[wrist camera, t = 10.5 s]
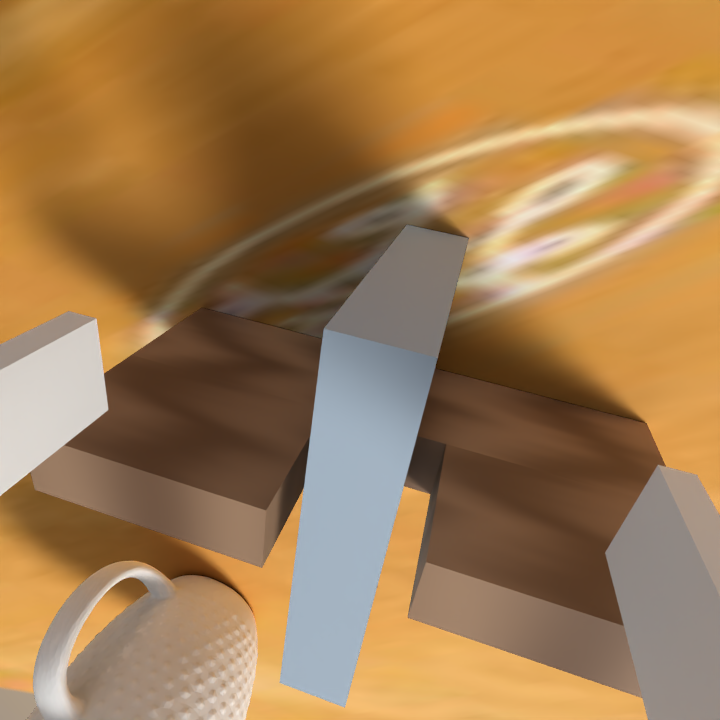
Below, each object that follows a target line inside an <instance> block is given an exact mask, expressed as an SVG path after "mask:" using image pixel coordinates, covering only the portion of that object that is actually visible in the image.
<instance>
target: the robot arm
mask: <svg viewBox="0 0 720 720" xmlns="http://www.w3.org/2000/svg"><path fill="white" fill-rule="evenodd" d="M106 411H108V403H107V395H106V387H105V380H104V372H103V365H102V357H101V349H100V342H99V334H98V326H97V319H96V318H93V317H89V316H85V315H81V314H77V313H73V312H70V311H68V312H66V313H64V314H62V315H60V316H58V317H56V318H54V319H52V320H50V321H48V322H46V323H44V324H41V325H39V326H37V327H35V328H33V329H31V330H29V331H27V332H25V333H23V334H21V335H19V336H17V337H15V338H13V339H11V340H8V341H6V342H4V343H2V344H0V496H1V495H2V494H3V493H4V492H6V491H7V490H8V489H9V488H11V487H12V486H13V485H14V484H16V483H17V482H18V481H19V480H21V479H22V478H23V477H24V476H26V475H27V474H28V473H30V472H31V471H32V470H33V469H35V468H36V467H37V466H38V465H40V464H41V463H42V462H43V461H45V460H46V459H47V458H48V457H50V456H51V455H52V454H53V453H55V452H56V451H57V450H59V449H60V448H61V447H62V446H64V445H65V444H66V443H67V442H69V441H70V440H71V439H72V438H74V437H75V436H76V435H77V434H79V433H80V432H81V431H82V430H84V429H85V428H86V427H88V426H89V425H90V424H91V423H93V422H94V421H95V420H96V419H98V418H99V417H100V416H101V415H103V414H104V413H105V412H106ZM605 554H606V558H607V562H608V566H609V570H610V574H611V577H612V581H613V585H614V589H615V593H616V597H617V601H618V605H619V609H620V612H621V616H622V620H623V624H624V628H625V632H626V636H627V640H628V644H629V647H630V651H631V655H632V659H633V663H634V667H635V671H636V675H637V678H638V682H639V686H640V690H641V694H642V698H643V702H644V706H645V710H646V713H647V717H648V720H720V515H719V513H718V512H717V510H716V508H715V506H714V505H713V503H712V501H711V499H710V497H709V496H708V494H707V492H706V490H705V488H704V487H703V485H702V483H701V481H700V480H699V478H698V476H697V475H695V474H692V473H688V472H684V471H680V470H676V469H672V468H669V467H665V466H661V465H658V466H657V467H656V469H655V471H654V472H653V474H652V476H651V477H650V479H649V481H648V482H647V484H646V486H645V487H644V489H643V491H642V492H641V494H640V496H639V497H638V499H637V501H636V502H635V504H634V506H633V507H632V509H631V510H630V512H629V514H628V515H627V517H626V519H625V520H624V522H623V524H622V525H621V527H620V529H619V530H618V532H617V534H616V535H615V537H614V539H613V540H612V542H611V544H610V545H609V547H608V549H607V550H606V552H605Z"/></svg>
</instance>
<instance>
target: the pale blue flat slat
mask: <svg viewBox="0 0 720 720" xmlns="http://www.w3.org/2000/svg"><path fill="white" fill-rule="evenodd" d="M468 239H469V238H466V237H462V236H457V235H453V234H448V233H443V232H439V231H434V230H430V229H425V228H420V227H416V226H411V225H406V226H405V227H404V229H403V230H402V231H401V232H400V234H399V235H398V236H397V237H396V239H395V240H394V241H393V242H392V244H391V245H390V246H389V247H388V249H387V250H386V251H385V252H384V254H383V255H382V256H381V257H380V259H379V260H378V261H377V262H376V264H375V265H374V266H373V267H372V269H371V270H370V271H369V272H368V274H367V275H366V276H365V277H364V279H363V280H362V281H361V282H360V284H359V285H358V286H357V287H356V289H355V290H354V291H353V293H352V294H351V295H350V296H349V298H348V299H347V300H346V301H345V303H344V304H343V305H342V306H341V308H340V309H339V310H338V311H337V313H336V314H335V315H334V316H333V318H332V319H331V320H330V321H329V323H328V324H327V325H326V326H325V328H324V330H323V338H322V346H321V354H320V362H319V370H318V378H317V386H316V395H315V403H314V411H313V419H312V427H311V435H310V443H309V451H308V459H307V467H306V475H305V483H304V491H303V499H302V508H301V516H300V524H299V532H298V540H297V548H296V556H295V564H294V572H293V580H292V588H291V596H290V604H289V612H288V620H287V629H286V637H285V645H284V653H283V661H282V669H281V677H280V683H282V684H284V685H287V686H290V687H292V688H295V689H298V690H300V691H303V692H305V693H308V694H311V695H313V696H316V697H319V698H321V699H324V700H327V701H329V702H332V703H334V704H337V705H340V706H342V707H345V705H346V701H347V698H348V694H349V690H350V686H351V683H352V679H353V675H354V671H355V668H356V664H357V660H358V656H359V653H360V649H361V645H362V641H363V637H364V634H365V630H366V626H367V622H368V619H369V615H370V611H371V607H372V604H373V600H374V596H375V592H376V589H377V585H378V581H379V577H380V573H381V570H382V566H383V562H384V558H385V555H386V551H387V547H388V543H389V540H390V536H391V532H392V528H393V525H394V521H395V517H396V513H397V509H398V506H399V502H400V498H401V494H402V491H403V487H404V483H405V479H406V476H407V472H408V468H409V464H410V461H411V457H412V453H413V449H414V446H415V442H416V438H417V434H418V430H419V427H420V423H421V419H422V415H423V412H424V408H425V404H426V400H427V397H428V393H429V389H430V385H431V382H432V378H433V374H434V370H435V366H436V363H437V359H438V355H439V351H440V347H441V344H442V340H443V336H444V332H445V328H446V324H447V320H448V316H449V313H450V309H451V305H452V301H453V297H454V293H455V289H456V286H457V282H458V278H459V274H460V270H461V266H462V262H463V259H464V255H465V251H466V247H467V243H468Z"/></svg>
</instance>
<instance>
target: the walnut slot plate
mask: <svg viewBox="0 0 720 720" xmlns="http://www.w3.org/2000/svg"><path fill="white" fill-rule="evenodd" d="M321 346H322V339H320V338H317V337H313V336H309V335H305V334H301V333H297V332H294V331H290V330H286V329H282V328H278V327H274V326H271V325H267V324H263V323H259V322H255V321H251V320H248V319H244V318H240V317H236V316H232V315H228V314H225V313H221V312H217V311H213V310H209V309H205V308H200V309H199V310H197V311H196V312H195V313H193V314H192V315H190V316H189V317H187V318H186V319H184V320H183V321H181V322H180V323H178V324H177V325H175V326H174V327H172V328H171V329H169V330H168V331H166V332H165V333H163V334H162V335H161V336H159V337H158V338H156V339H155V340H153V341H152V342H150V343H149V344H147V345H146V346H144V347H143V348H141V349H140V350H138V351H137V352H135V353H134V354H132V355H131V356H129V357H128V358H127V359H125V360H124V361H122V362H121V363H119V364H118V365H116V366H115V367H113V368H112V369H110V370H109V371H107V372H106V373H104V380H105V387H106V395H107V403H108V411H106V412H105V413H104V414H103V415H101V416H100V417H99V418H98V419H96V420H95V421H94V422H93V423H91V424H90V425H89V426H88V427H86V428H85V429H84V430H82V431H81V432H80V433H79V434H77V435H76V436H75V437H74V438H72V439H71V440H70V441H69V442H67V443H66V444H65V445H64V446H62V447H61V448H60V449H59V450H57V451H56V452H55V453H53V454H52V455H51V456H50V457H48V458H47V459H46V460H45V461H43V462H42V463H41V464H40V465H38V466H37V467H36V468H35V469H33V470H32V471H31V472H30V473H31V477H32V481H33V484H34V488H35V490H37V491H40V492H43V493H46V494H48V495H51V496H54V497H57V498H60V499H63V500H66V501H69V502H72V503H75V504H78V505H81V506H83V507H86V508H89V509H92V510H95V511H98V512H101V513H104V514H107V515H110V516H113V517H116V518H118V519H121V520H124V521H127V522H130V523H133V524H136V525H139V526H142V527H145V528H148V529H151V530H153V531H156V532H159V533H162V534H165V535H168V536H171V537H174V538H177V539H180V540H183V541H186V542H189V543H191V544H194V545H197V546H200V547H203V548H206V549H209V550H212V551H215V552H218V553H221V554H224V555H226V556H229V557H232V558H235V559H238V560H241V561H244V562H247V563H250V564H253V565H256V566H259V567H261V568H262V567H263V565H264V563H265V561H266V559H267V557H268V555H269V553H270V552H271V550H272V548H273V546H274V544H275V542H276V540H277V538H278V536H279V534H280V532H281V530H282V528H283V527H284V525H285V523H286V521H287V519H288V517H289V515H290V513H291V511H292V509H293V507H294V505H295V503H296V502H297V500H298V498H299V496H300V494H301V492H302V490H303V488H304V483H305V475H306V467H307V459H308V451H309V443H310V435H311V427H312V419H313V411H314V403H315V395H316V386H317V378H318V370H319V362H320V354H321ZM658 465H661V466H665V464H664V461H663V459H662V457H661V455H660V452H659V450H658V448H657V446H656V443H655V441H654V439H653V437H652V434H651V432H650V430H649V428H648V425H647V423H643V422H639V421H635V420H631V419H628V418H624V417H620V416H616V415H612V414H608V413H605V412H601V411H597V410H593V409H589V408H585V407H582V406H578V405H574V404H570V403H566V402H562V401H559V400H555V399H551V398H547V397H543V396H539V395H536V394H532V393H528V392H524V391H520V390H516V389H512V388H509V387H505V386H501V385H497V384H493V383H489V382H486V381H482V380H478V379H474V378H470V377H466V376H463V375H459V374H455V373H451V372H447V371H443V370H440V369H436V368H435V370H434V374H433V378H432V382H431V385H430V389H429V393H428V397H427V400H426V404H425V408H424V412H423V415H422V419H421V423H420V427H419V430H418V434H417V438H416V442H415V446H414V449H413V453H412V457H411V461H410V464H409V468H408V472H407V476H406V479H405V483H404V486H406V487H409V488H412V489H415V490H419V491H422V492H425V493H429V494H431V495H430V500H429V506H428V511H427V516H426V522H425V527H424V532H423V538H422V543H421V549H420V554H419V559H418V565H417V570H416V575H415V581H414V586H413V591H412V597H411V602H410V607H409V613H408V618H410V619H413V620H416V621H419V622H422V623H425V624H428V625H431V626H434V627H437V628H439V629H442V630H445V631H448V632H451V633H454V634H457V635H460V636H463V637H466V638H469V639H472V640H474V641H477V642H480V643H483V644H486V645H489V646H492V647H495V648H498V649H501V650H504V651H507V652H509V653H512V654H515V655H518V656H521V657H524V658H527V659H530V660H533V661H536V662H539V663H542V664H545V665H547V666H550V667H553V668H556V669H559V670H562V671H565V672H568V673H571V674H574V675H577V676H580V677H582V678H585V679H588V680H591V681H594V682H597V683H600V684H603V685H606V686H609V687H612V688H615V689H617V690H620V691H623V692H626V693H629V694H632V695H635V696H638V697H641V698H642V694H641V690H640V686H639V682H638V678H637V675H636V671H635V667H634V663H633V659H632V655H631V651H630V647H629V644H628V640H627V636H626V632H625V628H624V624H623V620H622V616H621V612H620V609H619V605H618V601H617V597H616V593H615V589H614V585H613V581H612V577H611V574H610V570H609V566H608V562H607V558H606V554H605V552H606V550H607V549H608V547H609V545H610V544H611V542H612V540H613V539H614V537H615V535H616V534H617V532H618V530H619V529H620V527H621V525H622V524H623V522H624V520H625V519H626V517H627V515H628V514H629V512H630V510H631V509H632V507H633V506H634V504H635V502H636V501H637V499H638V497H639V496H640V494H641V492H642V491H643V489H644V487H645V486H646V484H647V482H648V481H649V479H650V477H651V476H652V474H653V472H654V471H655V469H656V467H657V466H658ZM665 467H666V466H665Z"/></svg>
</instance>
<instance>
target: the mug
mask: <svg viewBox="0 0 720 720" xmlns="http://www.w3.org/2000/svg"><path fill="white" fill-rule="evenodd" d="M128 577H133V578H136V579H138V580H140V581H142V582H143V583H144V585H145V586H146V587H147V589H148V591H149V592H148V593H145V594H144V595H143V596H142V597H141V598H139V599H138V600H137V601H135V602H134V603H133V604H132V605H130V606H128V607H127V608H126V609H125V610H124V611H123V612H122V613H121V614H119V615H118V616H116V617H115V619H114V620H112V621H111V622H110V623H109V624H108V625H107V626H106V627H105V628H104V629H103V630H102V631H101V632H100V633H98V634H97V635H96V636H95V638H94V639H93V640H92V641H91V642H90V643H89V644H88V645H87V646H86V647H85V649H84V650H83V651H82V652H81V653H80V654H78V656H77V657H76V659H75V660H74V662H72V663H71V665H70V666H69V667H68V662H69V658H70V654H71V651H72V648H73V646H74V643H75V640H76V638H77V636H78V634H79V632H80V630H81V628H82V626H83V624H84V622H85V621H86V619H87V617H88V616H89V614H90V613H91V611H92V610H93V608H94V606H95V605H96V604H97V602H98V601H99V600H100V599H101V598H102V596H103V595H104V594H105V593H106V592H107V591H108V590H109V589H110V588H111V587H113V586H114V585H115V584H117V583H118V582H119V581H121V580H123V579H125V578H128ZM257 657H258V653H257V629H256V622H255V618H254V615H253V613H252V611H251V609H250V607H249V606H248V604H247V603H246V602H245V600H244V599H243V598H242V597H241V596H240V595H239V594H238V593H237V592H235V591H234V590H233V589H231V588H230V587H228V586H226V585H225V584H223V583H221V582H218V581H216V580H214V579H211V578H208V577H204V576H198V575H186V576H180V577H177V578H174V579H172V580H169V579H168V578H167V577H166V576H165V575H164V574H162V573H161V572H160V571H159V570H157V569H156V568H154V567H152V566H150V565H148V564H146V563H143V562H138V561H120V562H116V563H112V564H110V565H107V566H105V567H103V568H101V569H100V570H98V571H97V572H95V573H94V574H92V575H91V576H89V577H88V578H87V579H86V580H85V581H84V582H83V583H82V584H81V585H80V586H79V587H78V588H77V589H76V590H75V591H74V592H73V593H72V594H71V595H70V596H69V598H68V599H67V600H66V601H65V603H64V604H63V606H62V607H61V608H60V610H59V611H58V613H57V614H56V616H55V618H54V619H53V621H52V623H51V625H50V626H49V628H48V630H47V633H46V635H45V637H44V639H43V641H42V644H41V646H40V649H39V652H38V655H37V658H36V662H35V667H34V675H33V689H34V697H35V701H36V704H37V706H36V708H35V710H34V711H33V712H32V713H31V715H30V716H29V717H28V718H27V719H26V720H245V719H246V713H247V709H248V706H249V704H250V697H251V695H252V687H253V681H254V679H255V672H256V664H257Z"/></svg>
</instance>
